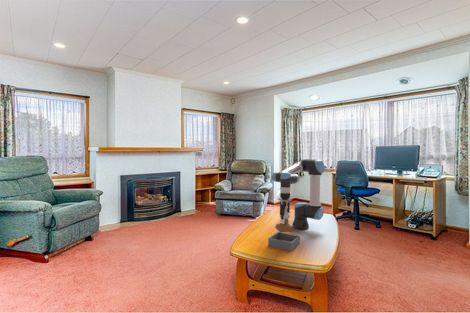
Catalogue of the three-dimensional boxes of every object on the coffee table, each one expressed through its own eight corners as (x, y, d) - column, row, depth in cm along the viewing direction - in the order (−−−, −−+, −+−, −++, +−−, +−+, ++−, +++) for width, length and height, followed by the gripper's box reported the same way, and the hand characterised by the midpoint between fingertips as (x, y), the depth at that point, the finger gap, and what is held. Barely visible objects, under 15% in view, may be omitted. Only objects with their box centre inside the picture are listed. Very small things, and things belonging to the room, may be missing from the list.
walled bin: (277, 238, 207) (277, 231, 207) (299, 243, 197) (299, 236, 197) (268, 245, 192) (268, 238, 192) (291, 251, 182) (291, 243, 182)
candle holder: (280, 232, 188) (280, 200, 187) (275, 227, 198) (275, 197, 198) (293, 231, 190) (294, 200, 189) (288, 227, 201) (288, 197, 200)
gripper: (285, 190, 204) (284, 218, 204) (275, 193, 187) (274, 224, 188) (294, 191, 200) (293, 220, 200) (284, 194, 183) (284, 226, 183)
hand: (284, 222), depth 194 cm, fingers closed on candle holder, 7 cm apart
